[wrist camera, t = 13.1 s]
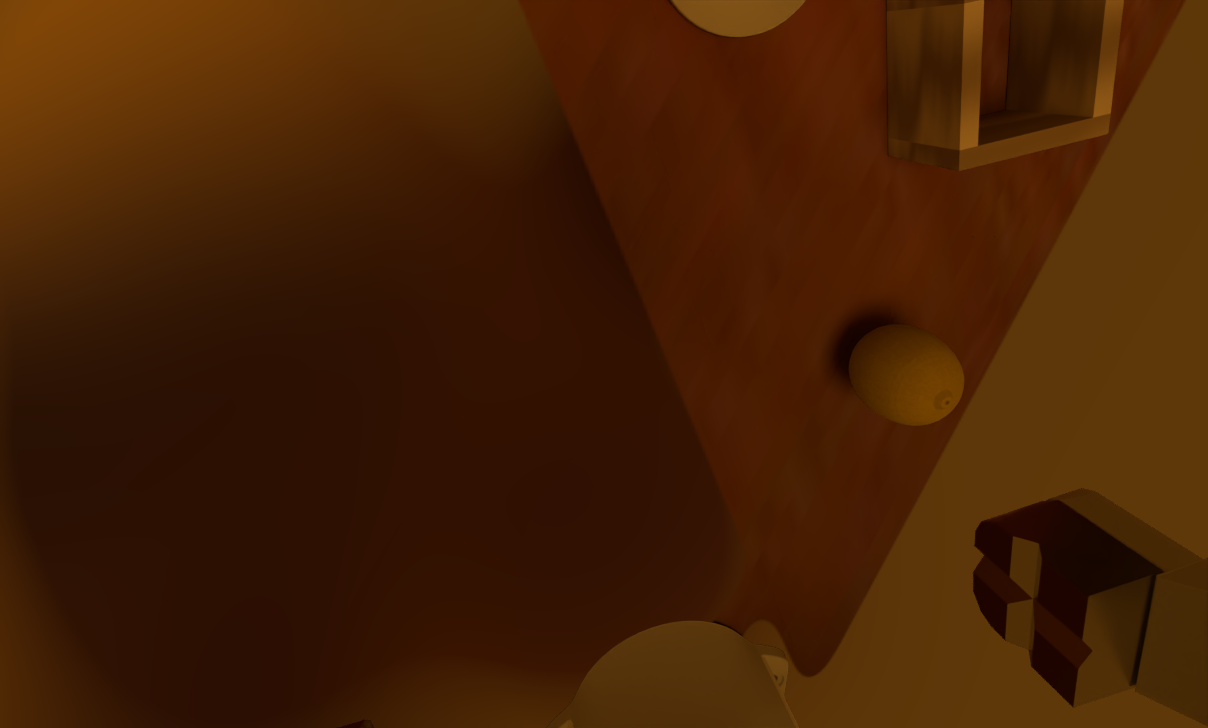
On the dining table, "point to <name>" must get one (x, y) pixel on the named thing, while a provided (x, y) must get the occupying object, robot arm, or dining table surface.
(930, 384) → the lemon
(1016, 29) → the oak sleeve
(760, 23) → the coaster
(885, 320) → the dining table surface
